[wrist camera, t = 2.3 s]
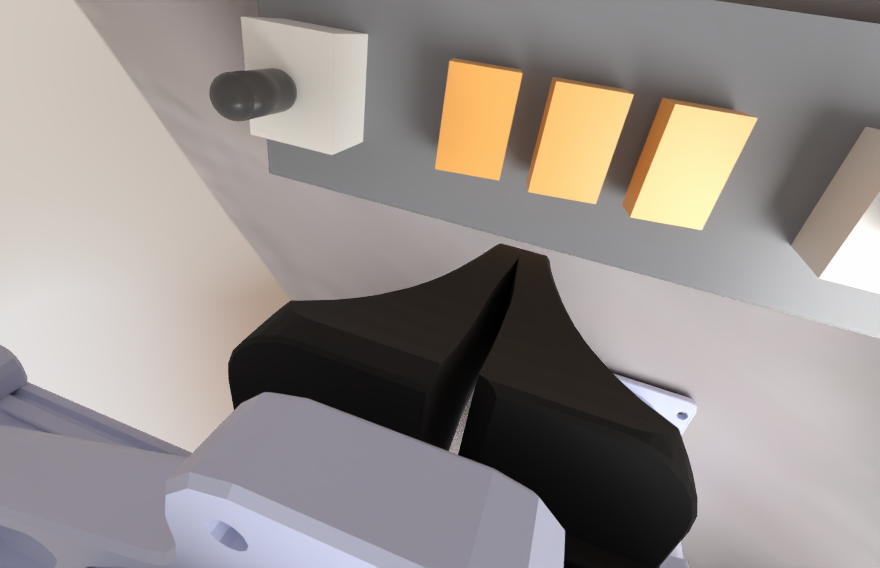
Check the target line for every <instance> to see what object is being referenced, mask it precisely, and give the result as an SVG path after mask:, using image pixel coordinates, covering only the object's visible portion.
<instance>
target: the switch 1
mask: <svg viewBox="0 0 880 568" xmlns="http://www.w3.org/2000/svg"><path fill="white" fill-rule="evenodd" d="M522 74H523V73H522V70H521V69H515V68H509V67H503V66H497V65H492V64H486V63H480V62H474V61H468V60H462V59H456V58H452V59H451V60H450V61H449V69H448V76H447V83H446V91H445V98H444V105H443V113H442V120H441V127H440V135H439V142H438V149H437V157H436V164H435V169H437V170H442V171H448V172H454V173H459V174H465V175H471V176H476V177H482V178H488V179H493V180H499V179H500V175H501V170H502V166H503V161H504V157H505V152H506V147H507V143H508V138H509V134H510V129H511V125H512V120H513V115H514V111H515V106H516V102H517V97H518V92H519V88H520V83H521V79H522Z"/></svg>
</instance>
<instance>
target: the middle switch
mask: <svg viewBox="0 0 880 568" xmlns="http://www.w3.org/2000/svg"><path fill="white" fill-rule="evenodd" d="M633 96H634V94H632V93H631V92H629V91H627V90H625V89H621V88H615V87H609V86H603V85H598V84H592V83H586V82H580V81H574V80H568V79H562V78H556V77H553V78H552V82H551V86H550V89H549V93H548V97H547V101H546V105H545V109H544V113H543V117H542V121H541V125H540V129H539V133H538V137H537V141H536V145H535V149H534V153H533V157H532V161H531V165H530V169H529V173H528V177H527V181H526V183H527V189H528V192H530V193H536V194H541V195H547V196H552V197H558V198H564V199H569V200H575V201H581V202H586V203H592V204H596V202H597V199H598V196H599V194H600V191H601V188H602V185H603V182H604V179H605V176H606V173H607V171H608V168H609V165H610V162H611V159H612V156H613V153H614V151H615V148H616V145H617V142H618V139H619V136H620V133H621V130H622V128H623V125H624V122H625V119H626V116H627V113H628V110H629V108H630V105H631V102H632V99H633Z"/></svg>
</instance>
